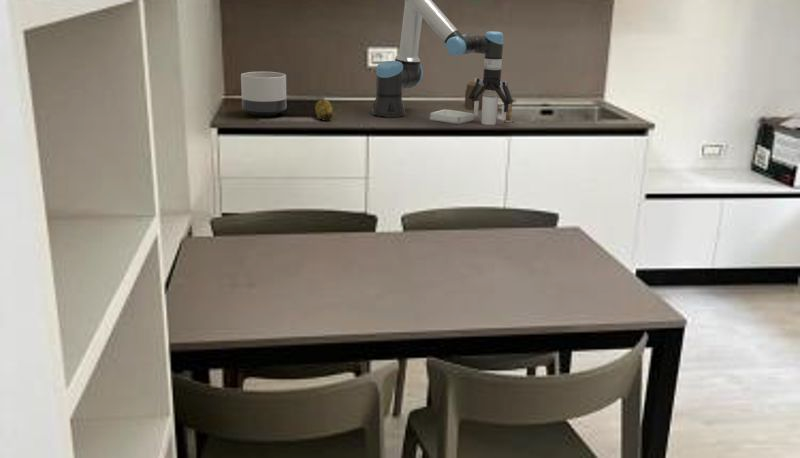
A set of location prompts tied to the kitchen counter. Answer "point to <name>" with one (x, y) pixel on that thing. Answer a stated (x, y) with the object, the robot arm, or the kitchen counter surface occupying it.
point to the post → (509, 111)
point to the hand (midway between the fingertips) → (489, 117)
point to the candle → (469, 101)
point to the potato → (324, 109)
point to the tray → (451, 116)
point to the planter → (263, 92)
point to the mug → (489, 109)
